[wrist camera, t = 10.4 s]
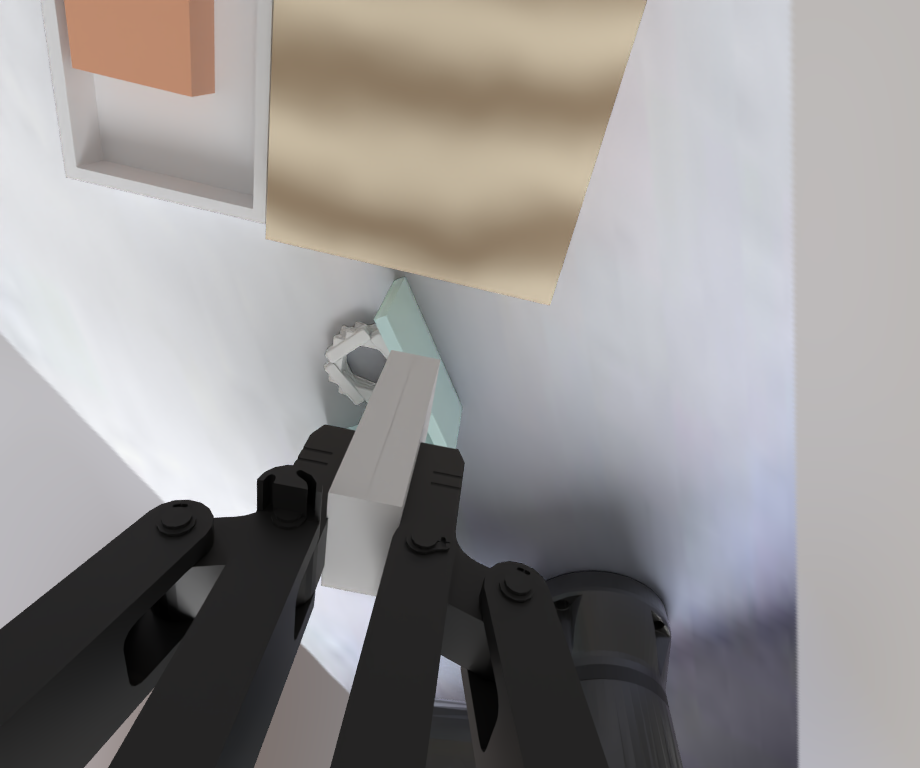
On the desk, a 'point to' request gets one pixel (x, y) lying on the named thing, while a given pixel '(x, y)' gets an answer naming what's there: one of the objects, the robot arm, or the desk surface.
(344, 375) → the l-shaped corner panel
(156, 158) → the box
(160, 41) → the tile
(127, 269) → the desk surface
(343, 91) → the plate
